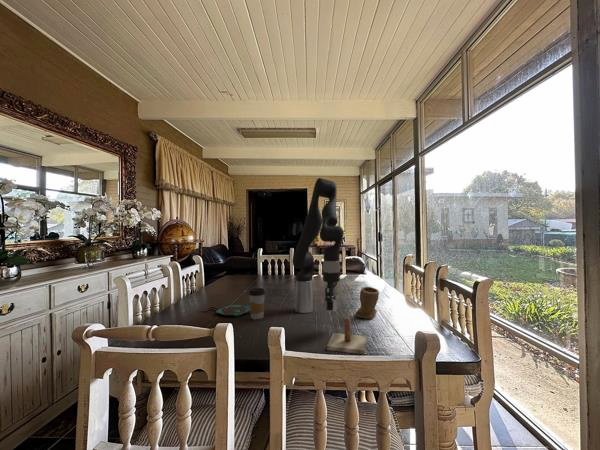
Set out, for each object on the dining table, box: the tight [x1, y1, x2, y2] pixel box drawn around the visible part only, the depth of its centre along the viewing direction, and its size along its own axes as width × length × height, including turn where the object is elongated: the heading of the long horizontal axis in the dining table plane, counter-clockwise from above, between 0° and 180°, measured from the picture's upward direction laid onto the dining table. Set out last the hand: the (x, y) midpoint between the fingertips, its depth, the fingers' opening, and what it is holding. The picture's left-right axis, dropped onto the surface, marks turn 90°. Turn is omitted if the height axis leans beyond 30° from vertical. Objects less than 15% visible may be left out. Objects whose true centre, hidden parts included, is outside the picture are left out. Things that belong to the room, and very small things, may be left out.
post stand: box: [326, 316, 368, 355], centre depth 115 cm, size 14×14×10 cm
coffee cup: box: [248, 287, 266, 319], centre depth 150 cm, size 8×8×15 cm
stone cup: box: [355, 286, 380, 319], centre depth 151 cm, size 15×12×15 cm
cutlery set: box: [215, 304, 251, 317], centre depth 163 cm, size 20×30×2 cm, turn 65°
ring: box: [323, 296, 339, 313], centre depth 129 cm, size 6×6×5 cm
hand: (331, 307), depth 129 cm, fingers closed on ring, 6 cm apart
